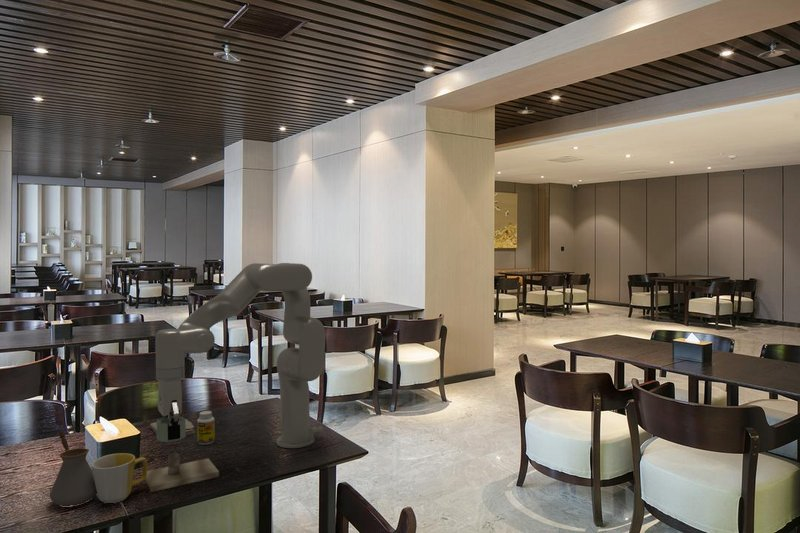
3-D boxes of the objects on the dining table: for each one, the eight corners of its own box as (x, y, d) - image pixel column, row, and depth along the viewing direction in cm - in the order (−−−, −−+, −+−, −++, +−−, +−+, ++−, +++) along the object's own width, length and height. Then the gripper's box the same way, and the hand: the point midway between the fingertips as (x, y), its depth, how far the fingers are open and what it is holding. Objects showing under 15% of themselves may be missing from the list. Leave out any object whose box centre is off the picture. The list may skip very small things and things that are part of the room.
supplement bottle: (196, 445, 188) (195, 415, 187) (199, 440, 193) (198, 410, 193) (213, 444, 189) (212, 414, 188) (216, 439, 194) (215, 409, 194)
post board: (208, 463, 173) (207, 438, 172) (218, 476, 163) (218, 450, 162) (144, 476, 163) (143, 451, 163) (151, 492, 153) (150, 464, 153)
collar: (181, 431, 166) (181, 414, 166) (187, 438, 160) (187, 421, 160) (155, 436, 162) (155, 418, 162) (159, 443, 156) (159, 425, 156)
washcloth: (162, 442, 193) (162, 433, 193) (147, 429, 207) (147, 421, 207) (197, 434, 200) (197, 426, 200) (181, 422, 214) (180, 414, 214)
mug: (97, 512, 142) (96, 471, 141) (88, 498, 150) (87, 459, 149) (154, 496, 151) (153, 457, 150) (143, 483, 158) (142, 446, 158)
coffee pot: (106, 501, 148) (103, 444, 147) (55, 516, 140) (52, 456, 140) (85, 476, 164) (83, 425, 163) (38, 488, 156) (36, 435, 156)
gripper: (151, 369, 166) (151, 429, 166) (161, 380, 151) (162, 446, 152) (178, 366, 170) (178, 425, 170) (191, 377, 155) (192, 441, 156)
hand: (171, 434), depth 161 cm, fingers closed on collar, 7 cm apart
